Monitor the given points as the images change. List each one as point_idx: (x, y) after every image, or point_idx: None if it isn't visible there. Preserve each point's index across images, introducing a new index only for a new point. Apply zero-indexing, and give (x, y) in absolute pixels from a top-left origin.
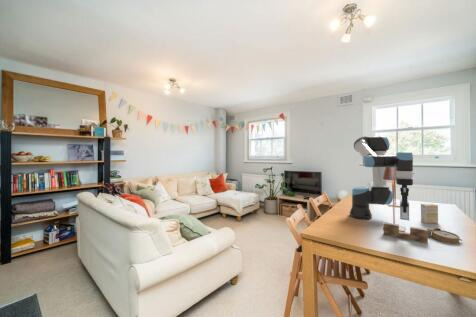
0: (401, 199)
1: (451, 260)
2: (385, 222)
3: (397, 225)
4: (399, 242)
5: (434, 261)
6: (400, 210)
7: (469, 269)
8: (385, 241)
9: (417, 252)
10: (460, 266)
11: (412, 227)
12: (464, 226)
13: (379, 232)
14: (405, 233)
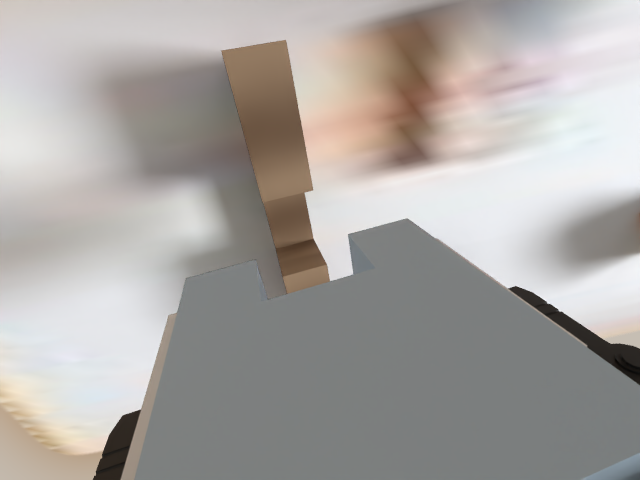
0: (635, 468)
1: (130, 403)
2: (288, 60)
3: (271, 189)
4: (153, 201)
5: (26, 382)
6: (161, 385)
7: (92, 449)
8: (61, 121)
9: (72, 311)
10: (90, 432)
11: (309, 282)
12: (632, 318)
13: (263, 14)
14: (279, 221)
